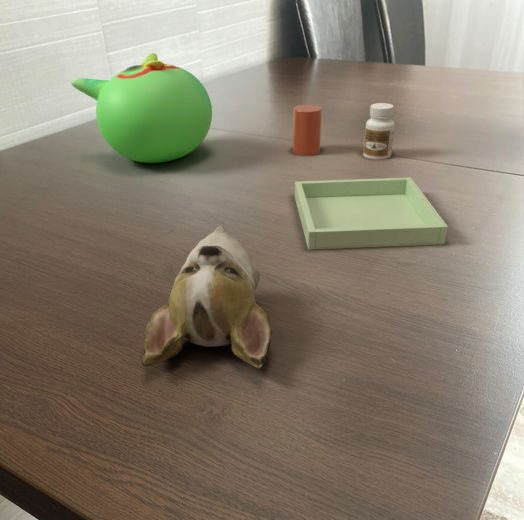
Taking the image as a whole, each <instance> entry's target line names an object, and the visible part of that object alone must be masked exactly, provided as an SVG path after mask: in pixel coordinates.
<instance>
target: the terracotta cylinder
mask: <svg viewBox="0 0 524 520" xmlns="http://www.w3.org/2000/svg"><path fill="white" fill-rule="evenodd" d="M322 108H323V107H322V106H319V105H315V104H300V105H296V106H293V113H292V114H293V124H292V153H293V154H295V155H297V156H302V157H303V156H304V157H305V156H306V157H307V156H310V157H311V156H315V155H318V154H319V153H320V152H321V138H322V137H321V135H322V110H323V109H322Z"/></svg>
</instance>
